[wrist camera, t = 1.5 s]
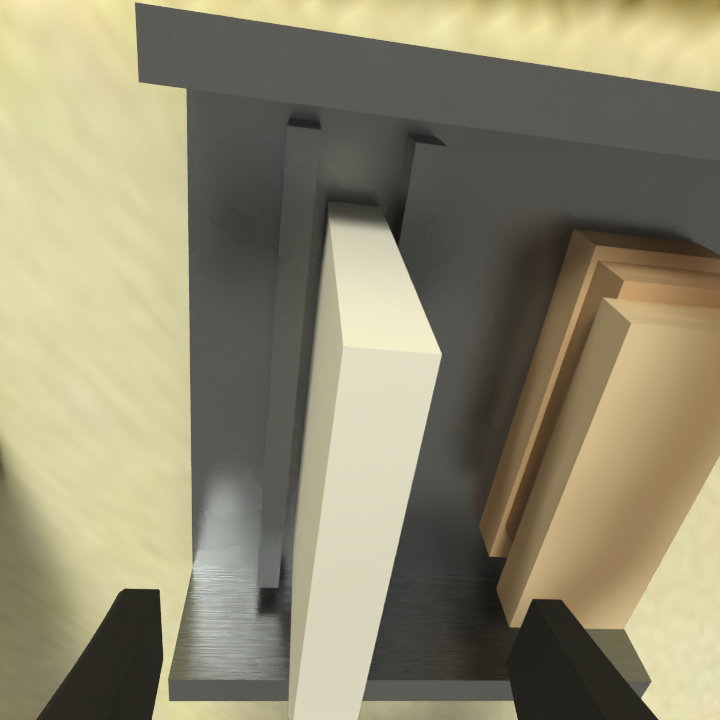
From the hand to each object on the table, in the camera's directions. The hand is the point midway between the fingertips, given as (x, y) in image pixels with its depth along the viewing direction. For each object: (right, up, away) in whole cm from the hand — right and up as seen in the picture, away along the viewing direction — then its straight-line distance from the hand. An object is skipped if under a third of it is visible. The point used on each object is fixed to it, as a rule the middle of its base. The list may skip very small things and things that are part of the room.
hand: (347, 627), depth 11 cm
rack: (+3, +5, +9) cm, 11 cm away
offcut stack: (+8, +4, +9) cm, 12 cm away
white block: (-1, +4, +8) cm, 9 cm away
